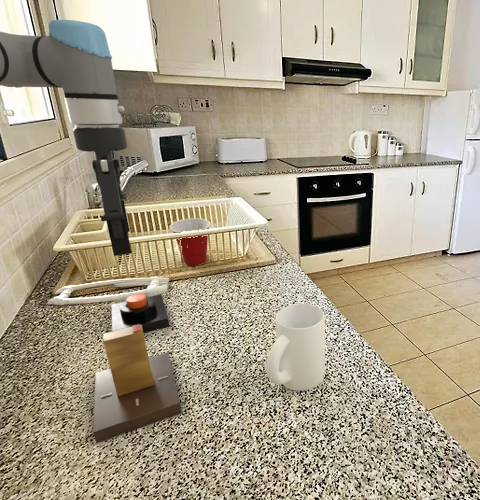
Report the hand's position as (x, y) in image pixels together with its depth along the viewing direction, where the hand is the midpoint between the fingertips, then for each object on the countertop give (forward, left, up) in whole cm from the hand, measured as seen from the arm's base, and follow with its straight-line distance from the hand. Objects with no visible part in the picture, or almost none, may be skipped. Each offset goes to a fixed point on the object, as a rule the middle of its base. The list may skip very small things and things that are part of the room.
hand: (122, 242), depth 72 cm
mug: (+32, +21, -19) cm, 43 cm away
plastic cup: (-29, +16, -19) cm, 38 cm away
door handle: (-17, -5, -19) cm, 26 cm away
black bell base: (-2, 0, -19) cm, 19 cm away
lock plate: (+23, -2, -19) cm, 29 cm away
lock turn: (+23, -2, -17) cm, 28 cm away
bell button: (-2, 0, -15) cm, 15 cm away
